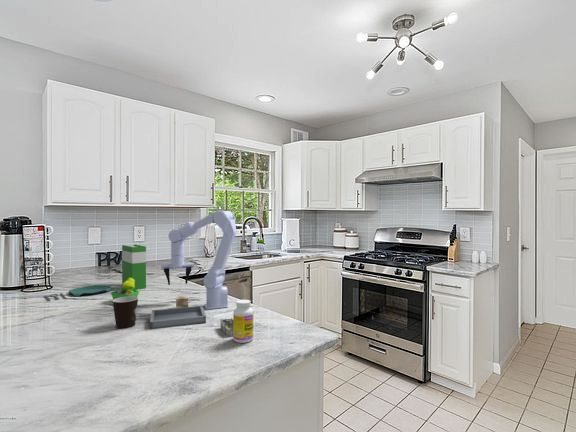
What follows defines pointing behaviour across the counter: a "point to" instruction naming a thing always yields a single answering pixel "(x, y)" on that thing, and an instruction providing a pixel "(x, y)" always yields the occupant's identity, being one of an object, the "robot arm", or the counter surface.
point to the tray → (177, 317)
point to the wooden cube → (181, 301)
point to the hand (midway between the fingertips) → (177, 283)
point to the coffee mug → (125, 311)
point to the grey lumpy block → (227, 326)
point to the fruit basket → (126, 290)
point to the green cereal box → (134, 265)
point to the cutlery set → (84, 291)
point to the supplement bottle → (243, 322)
